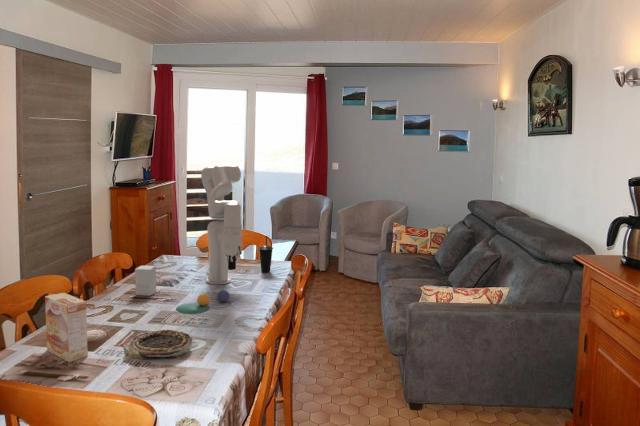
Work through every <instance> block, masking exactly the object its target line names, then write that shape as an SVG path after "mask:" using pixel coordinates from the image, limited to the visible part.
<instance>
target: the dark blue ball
mask: <svg viewBox="0 0 640 426" xmlns="http://www.w3.org/2000/svg"><path fill="white" fill-rule="evenodd" d="M216 299H217V300H218V301H219V302H220V303H225V302H228V301H229V299H230V293H229V292H228V290H226V289H222V290H219V291H218V292H217V294H216Z"/></svg>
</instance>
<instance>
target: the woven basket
mask: <svg viewBox="0 0 640 426" xmlns="http://www.w3.org/2000/svg"><path fill="white" fill-rule="evenodd" d="M192 345H193V337H191V335H190V334H188V333H186V332H183V331H178V330H173V329H161V330H155V331H152V332H148V331H145V332H143V333H139V334H138V335H135V336H134V337H133V338H131V340H130V341H129V342H128V343H127V344H125V345H123V348H125V349H124V351H125V354H126V356H124V357H123V360H124V362H127V360H130V359H131V358H132V359H135V358H136V359H140V360H148V359H151V360H152V359H154V360H155V359H156V360H160V359H162V360H163V359H176V358H177V357H180V355H185V354H187V353H188V351H189V349H190V347H191V346H192ZM129 364H130V365H133V364H132V363H129Z"/></svg>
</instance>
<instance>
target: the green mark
mask: <svg viewBox="0 0 640 426" xmlns="http://www.w3.org/2000/svg"><path fill="white" fill-rule="evenodd" d="M208 310H210V306H209V304H208V305H206V306H200V305H199V304H198V302H190V303H188V302H187V303H184V304H180V305H178V306H176V311H177V312H178V313H182V314H187V313H188V314H189V315H193V314H201V313H204V312H207V311H208Z"/></svg>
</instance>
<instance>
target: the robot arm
mask: <svg viewBox="0 0 640 426" xmlns="http://www.w3.org/2000/svg"><path fill="white" fill-rule="evenodd" d="M241 172H242V171H241V169H240V167H239V166H238V165H235V164H217V165H214V166H206V167H203V169H202V170H201V172H200V175H201V176H200V177H201V182H202V186H203V188H204V191H205V194H206V199H207V208H208V209H207V210H208V215H209V217H210V218H211V219H212V220H214V221H210V222H209V223H208V224H207V228H206V230H207V237H208V251H209V252H208V254H209V255H208V272H206V275H207V276H208V277H207V278H206V279H205V282H206V284H210V285H226V284H229V283H231V282H232V279H231V277H229V270H230V271H234V270H236V269H237V268H236V266H237V261H238V259H241V255H242V254H243V240H242V236H243V223H242V215H241V214H242V204H240V202H239V201H238V200H225V196H228V195H229V194H230V193H231V192H232V190H233V183H238V182H239V181H240V180H241V179H242V178H241V177H242V173H241Z"/></svg>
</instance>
